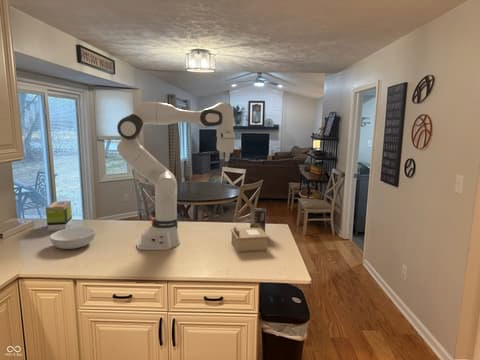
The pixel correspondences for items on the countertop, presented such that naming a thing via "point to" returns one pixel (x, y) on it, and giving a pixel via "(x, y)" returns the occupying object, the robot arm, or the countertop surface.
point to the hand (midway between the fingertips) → (224, 160)
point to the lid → (248, 233)
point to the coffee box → (258, 218)
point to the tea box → (59, 215)
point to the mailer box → (249, 245)
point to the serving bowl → (72, 237)
